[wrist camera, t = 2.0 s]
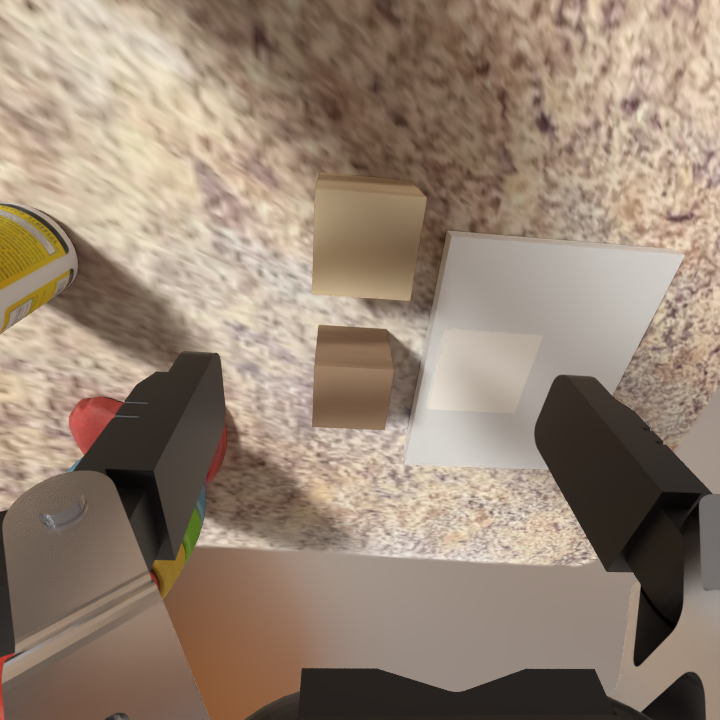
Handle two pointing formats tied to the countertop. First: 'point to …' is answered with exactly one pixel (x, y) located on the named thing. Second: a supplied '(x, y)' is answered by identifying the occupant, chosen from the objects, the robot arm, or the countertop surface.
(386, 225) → the oak block
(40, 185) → the countertop surface
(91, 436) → the stacking bear
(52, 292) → the supplement bottle
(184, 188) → the countertop surface
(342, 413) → the walnut block
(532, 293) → the build board
